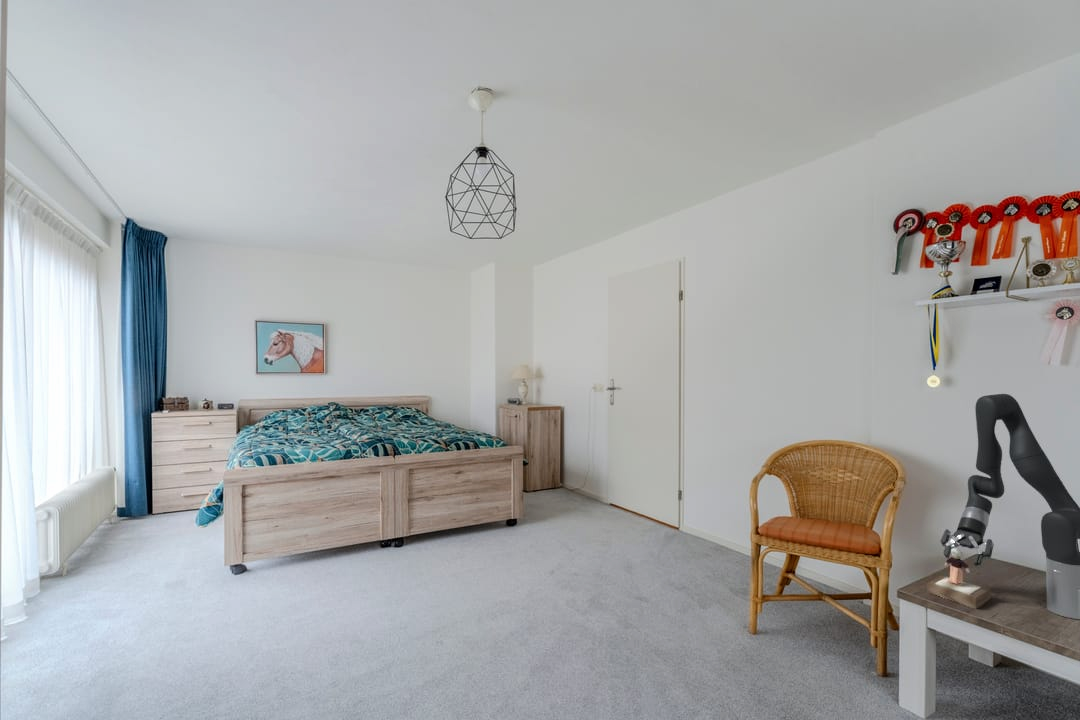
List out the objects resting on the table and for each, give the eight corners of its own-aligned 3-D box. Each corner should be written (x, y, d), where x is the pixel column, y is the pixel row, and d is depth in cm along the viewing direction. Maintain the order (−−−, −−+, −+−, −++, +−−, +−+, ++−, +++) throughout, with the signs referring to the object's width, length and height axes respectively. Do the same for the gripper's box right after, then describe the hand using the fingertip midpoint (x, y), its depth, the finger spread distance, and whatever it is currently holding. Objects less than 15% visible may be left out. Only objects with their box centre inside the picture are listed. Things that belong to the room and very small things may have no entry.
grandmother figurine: (941, 582, 184) (941, 546, 184) (945, 579, 187) (945, 544, 187) (969, 589, 178) (968, 553, 178) (972, 586, 180) (972, 550, 180)
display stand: (990, 599, 179) (989, 588, 179) (975, 608, 173) (975, 596, 173) (942, 585, 191) (942, 574, 191) (927, 593, 185) (926, 581, 185)
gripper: (947, 511, 194) (933, 548, 188) (995, 521, 182) (983, 561, 176) (953, 523, 197) (940, 560, 191) (1001, 533, 185) (989, 573, 179)
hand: (960, 560), depth 183 cm, fingers open, 8 cm apart
